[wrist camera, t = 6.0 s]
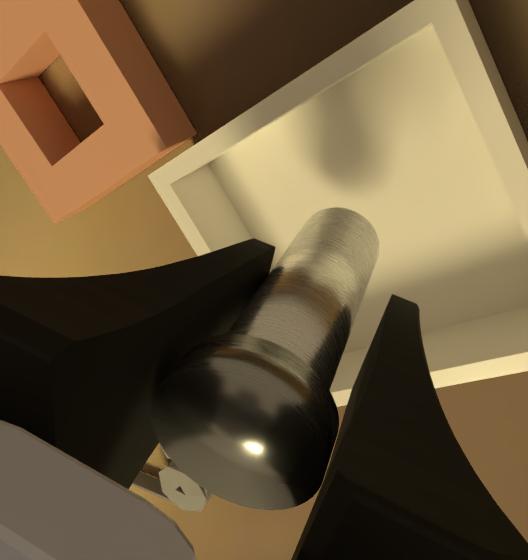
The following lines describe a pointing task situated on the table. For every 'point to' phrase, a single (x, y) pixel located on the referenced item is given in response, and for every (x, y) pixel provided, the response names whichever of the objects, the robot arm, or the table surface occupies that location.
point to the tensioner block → (99, 90)
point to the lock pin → (272, 373)
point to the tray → (387, 185)
